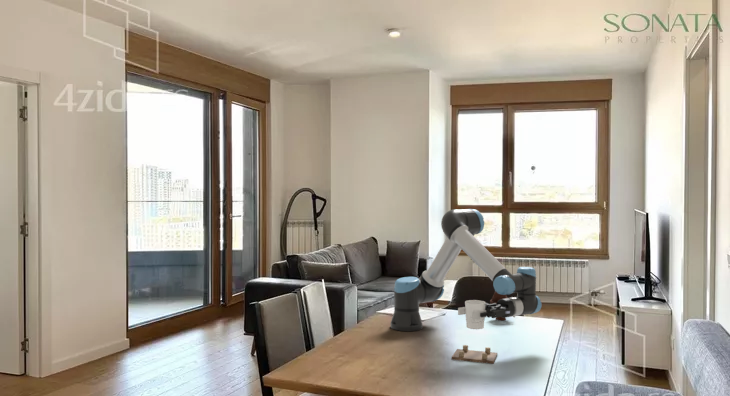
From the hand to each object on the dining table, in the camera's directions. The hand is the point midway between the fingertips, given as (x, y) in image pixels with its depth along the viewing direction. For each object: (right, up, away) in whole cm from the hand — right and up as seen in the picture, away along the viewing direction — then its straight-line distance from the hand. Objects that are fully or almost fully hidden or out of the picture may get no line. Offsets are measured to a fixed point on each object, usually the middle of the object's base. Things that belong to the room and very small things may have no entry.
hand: (465, 313), depth 223 cm
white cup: (+4, -6, +3) cm, 8 cm away
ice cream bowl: (+30, -17, +69) cm, 77 cm away
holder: (+4, -18, +3) cm, 18 cm away
